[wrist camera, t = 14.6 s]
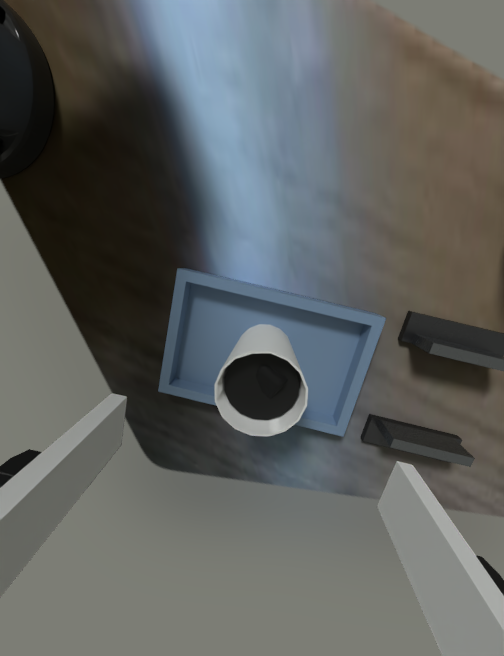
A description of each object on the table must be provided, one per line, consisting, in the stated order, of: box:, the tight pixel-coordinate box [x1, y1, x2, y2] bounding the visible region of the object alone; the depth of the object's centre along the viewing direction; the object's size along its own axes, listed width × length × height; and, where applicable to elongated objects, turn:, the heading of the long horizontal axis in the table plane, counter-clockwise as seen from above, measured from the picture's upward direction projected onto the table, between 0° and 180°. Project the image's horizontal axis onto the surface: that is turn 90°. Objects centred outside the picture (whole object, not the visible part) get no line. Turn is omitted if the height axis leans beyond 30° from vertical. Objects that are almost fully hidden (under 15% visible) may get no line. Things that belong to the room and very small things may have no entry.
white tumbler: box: [214, 324, 308, 437], centre depth 24 cm, size 7×7×10 cm
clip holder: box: [361, 311, 504, 467], centre depth 27 cm, size 15×10×4 cm, turn 167°
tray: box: [158, 268, 386, 437], centre depth 28 cm, size 13×20×2 cm, turn 77°
